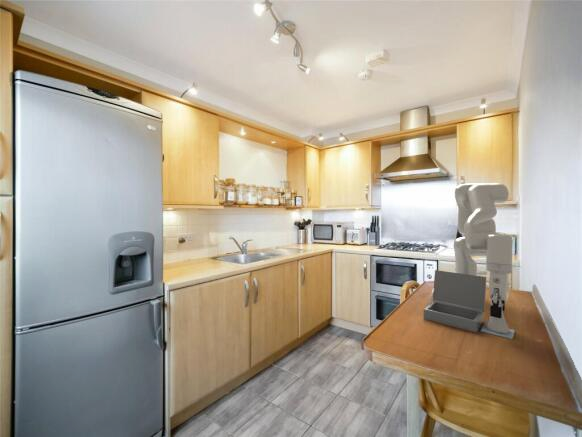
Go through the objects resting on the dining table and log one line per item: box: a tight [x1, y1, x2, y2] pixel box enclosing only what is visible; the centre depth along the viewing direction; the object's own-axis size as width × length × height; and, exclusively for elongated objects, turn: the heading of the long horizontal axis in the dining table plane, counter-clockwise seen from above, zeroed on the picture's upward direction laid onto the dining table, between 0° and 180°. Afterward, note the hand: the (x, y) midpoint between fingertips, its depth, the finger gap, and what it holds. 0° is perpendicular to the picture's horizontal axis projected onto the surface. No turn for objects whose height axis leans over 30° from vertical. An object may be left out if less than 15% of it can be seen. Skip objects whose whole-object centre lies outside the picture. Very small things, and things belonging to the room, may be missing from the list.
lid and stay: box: [427, 269, 487, 313], centre depth 112 cm, size 9×19×15 cm, turn 46°
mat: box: [480, 323, 516, 340], centre depth 97 cm, size 9×9×1 cm
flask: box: [485, 303, 510, 334], centre depth 98 cm, size 7×7×10 cm
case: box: [423, 300, 484, 333], centre depth 108 cm, size 15×18×5 cm
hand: (497, 313), depth 98 cm, fingers open, 9 cm apart
